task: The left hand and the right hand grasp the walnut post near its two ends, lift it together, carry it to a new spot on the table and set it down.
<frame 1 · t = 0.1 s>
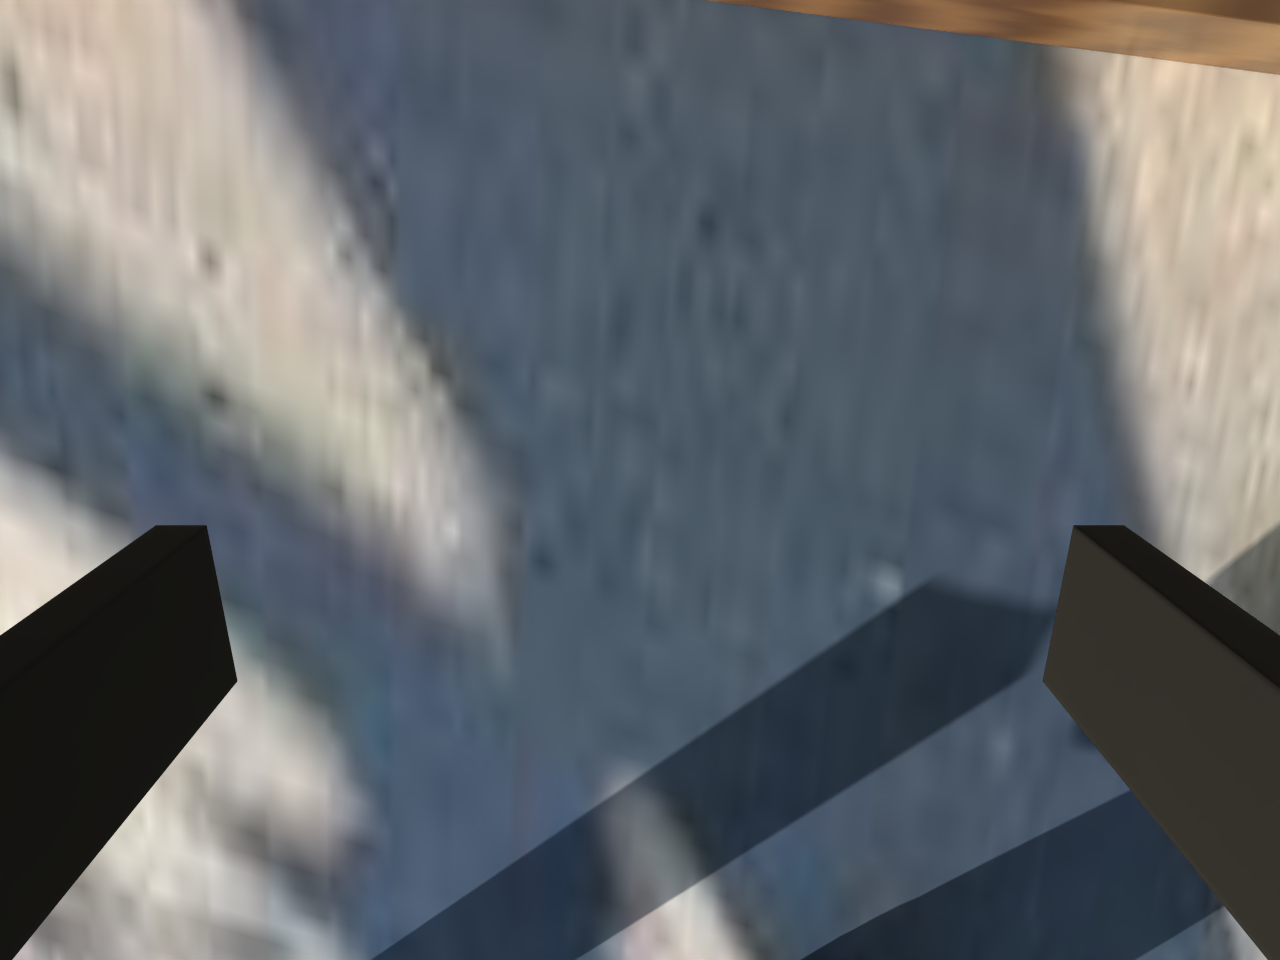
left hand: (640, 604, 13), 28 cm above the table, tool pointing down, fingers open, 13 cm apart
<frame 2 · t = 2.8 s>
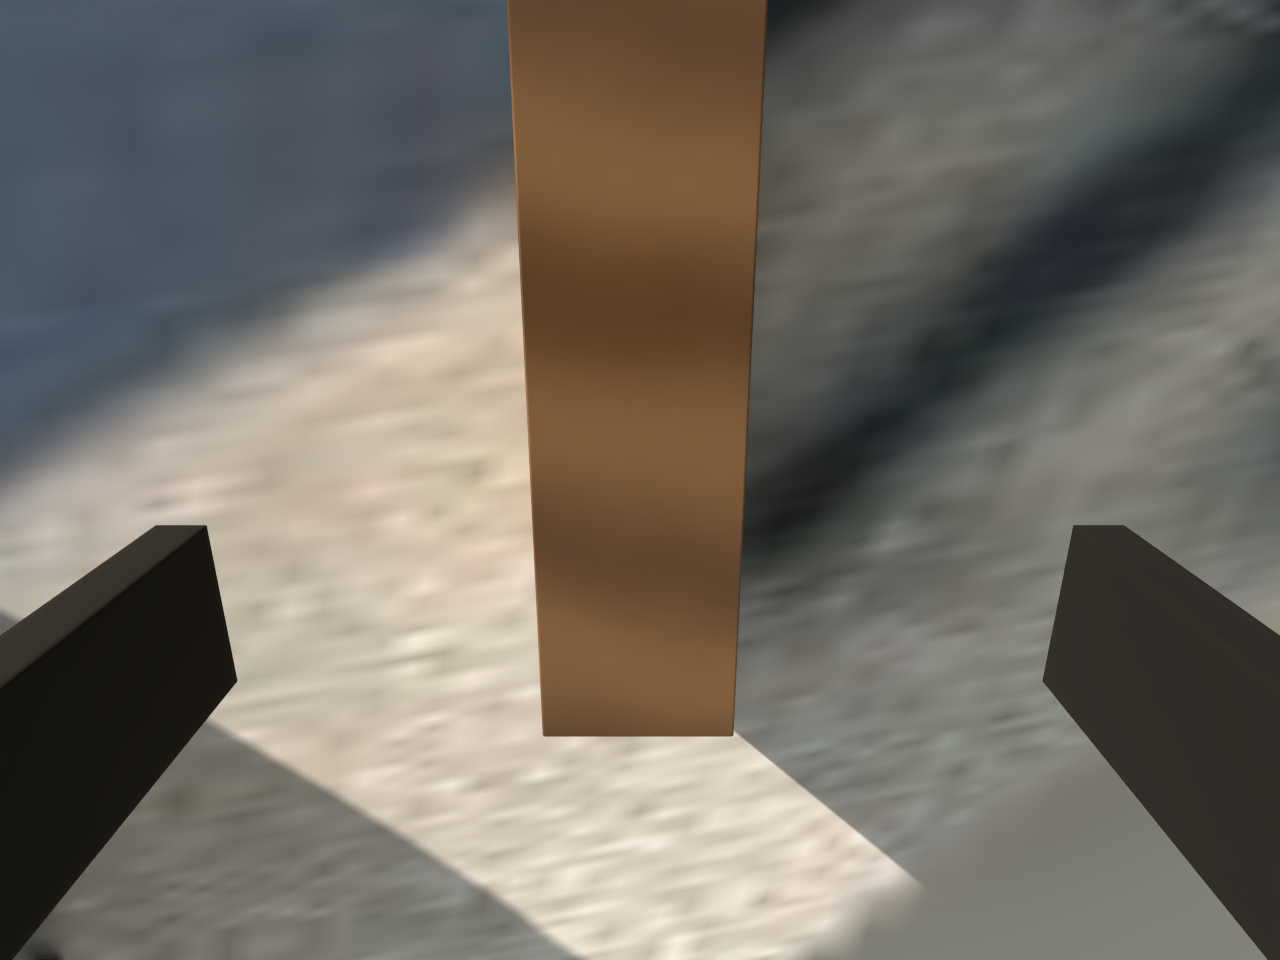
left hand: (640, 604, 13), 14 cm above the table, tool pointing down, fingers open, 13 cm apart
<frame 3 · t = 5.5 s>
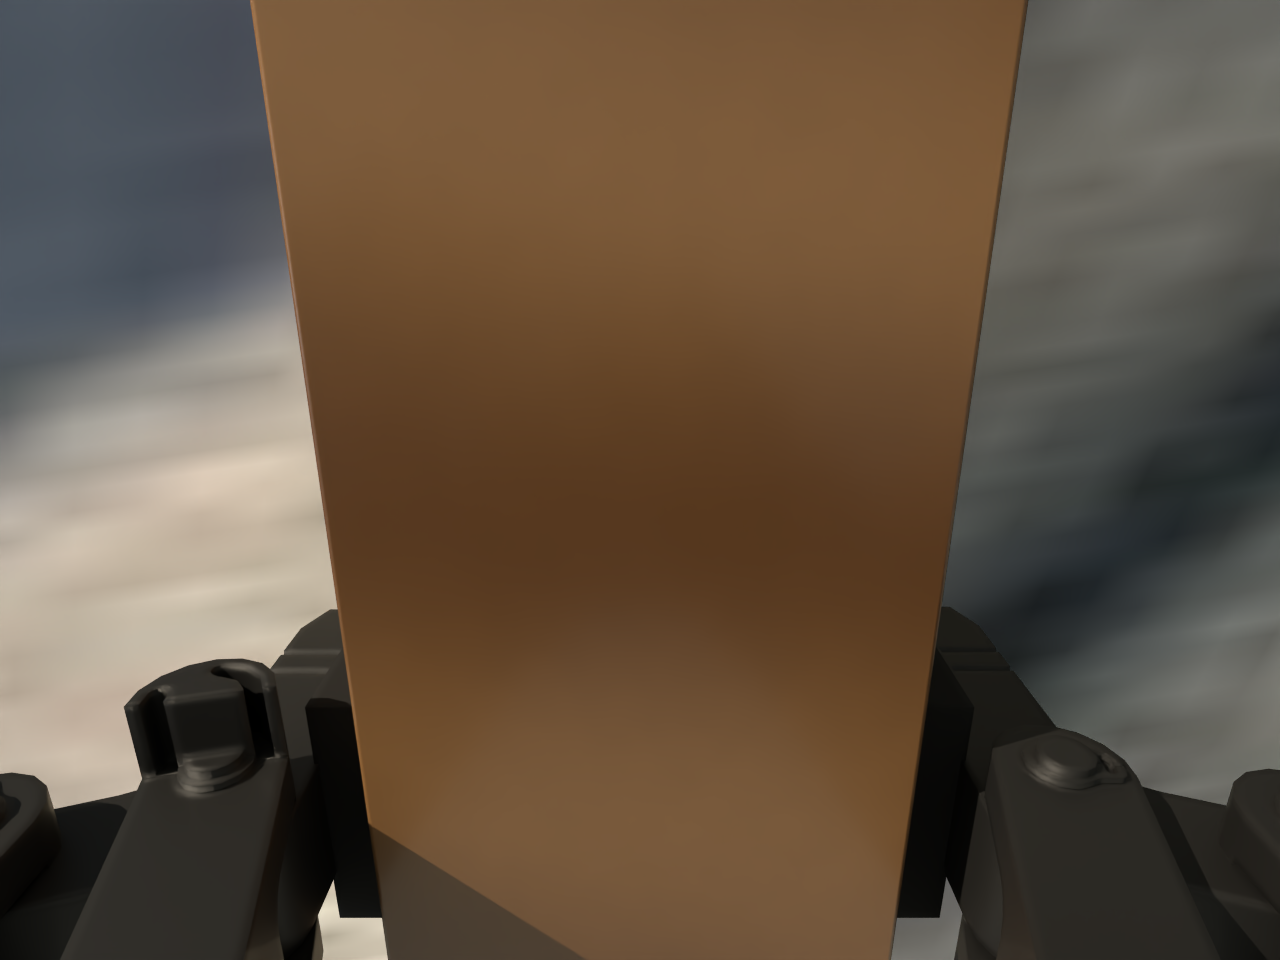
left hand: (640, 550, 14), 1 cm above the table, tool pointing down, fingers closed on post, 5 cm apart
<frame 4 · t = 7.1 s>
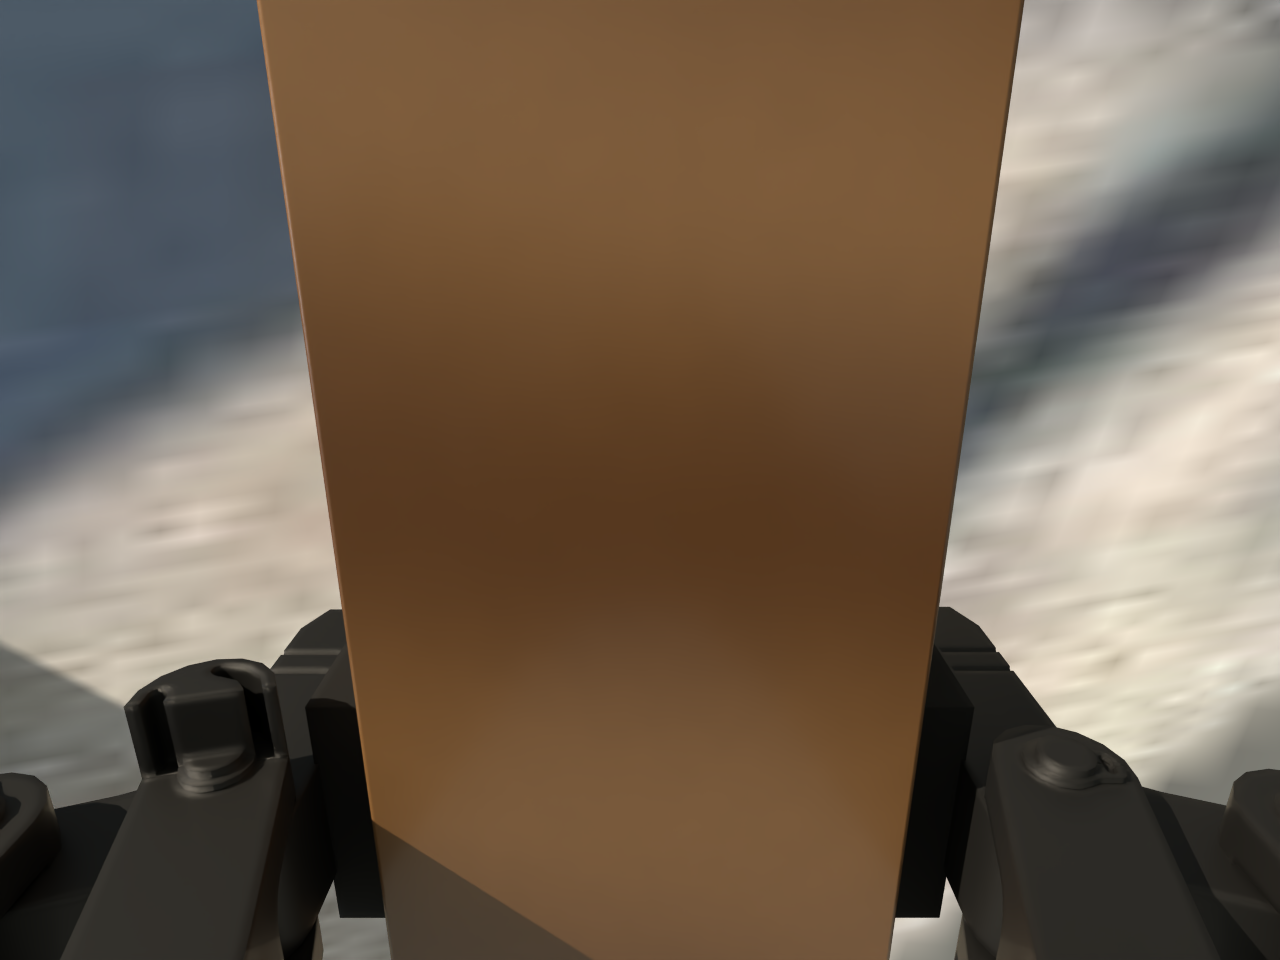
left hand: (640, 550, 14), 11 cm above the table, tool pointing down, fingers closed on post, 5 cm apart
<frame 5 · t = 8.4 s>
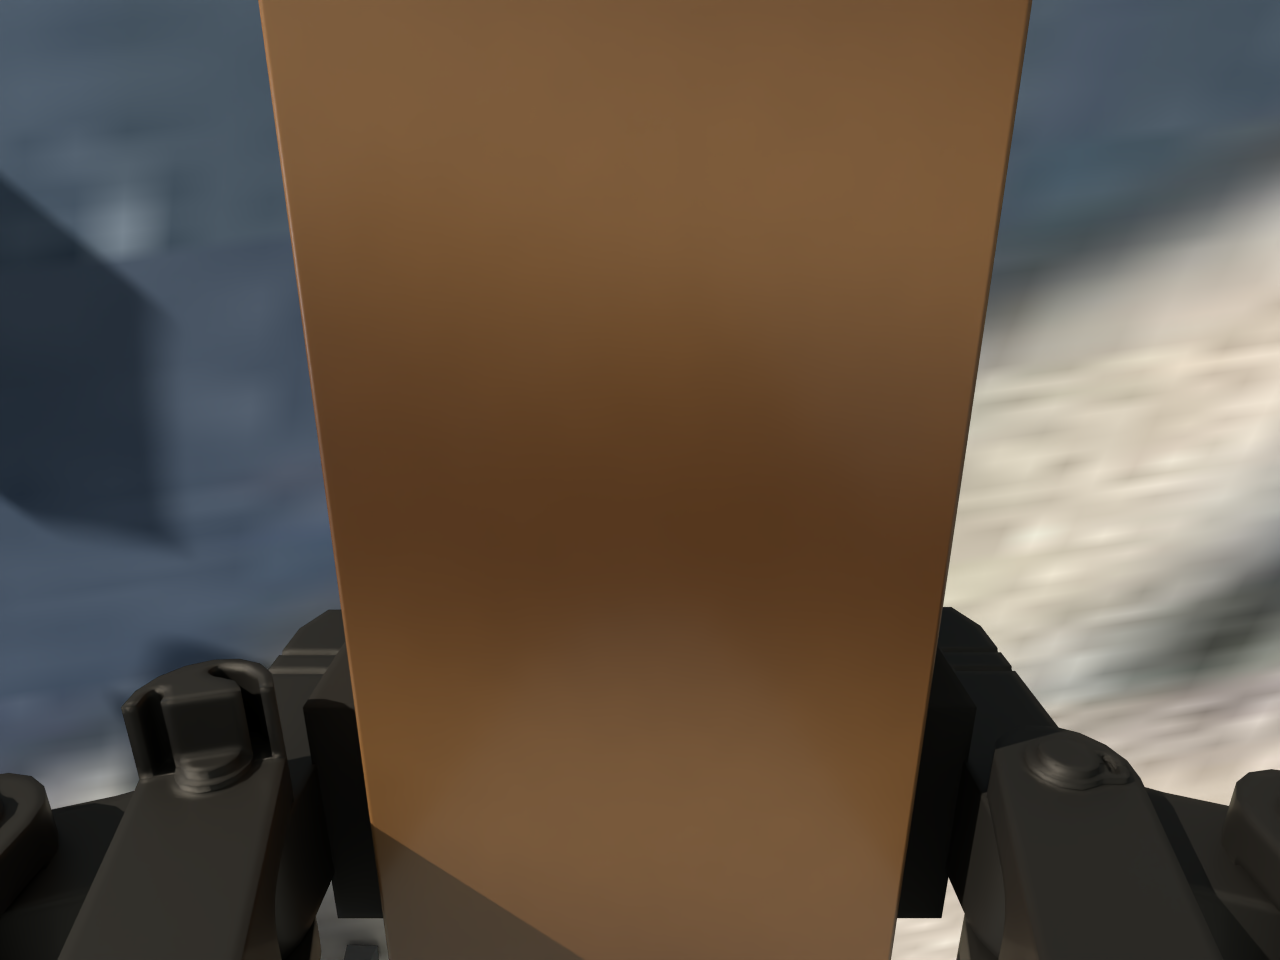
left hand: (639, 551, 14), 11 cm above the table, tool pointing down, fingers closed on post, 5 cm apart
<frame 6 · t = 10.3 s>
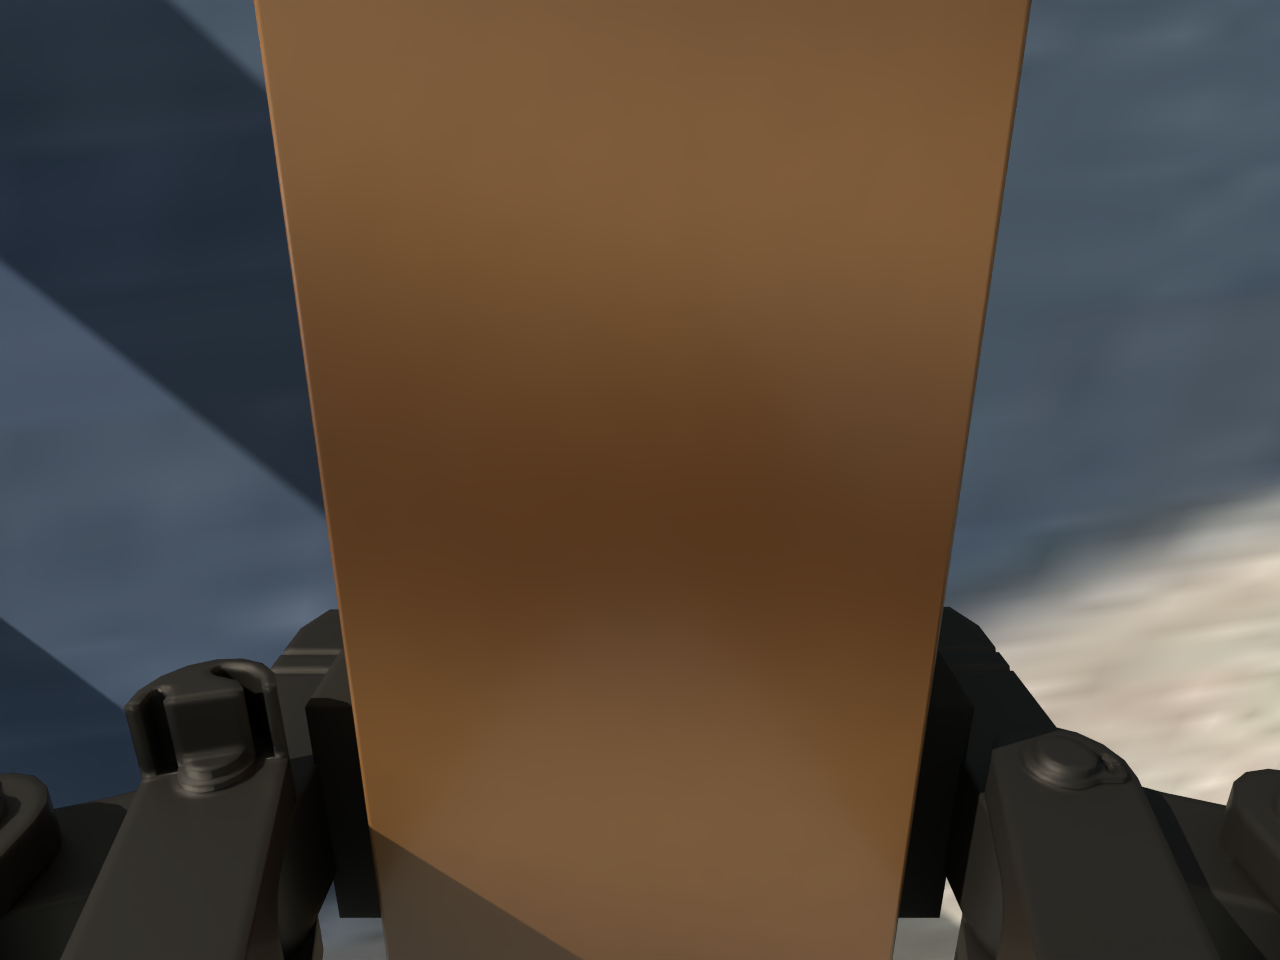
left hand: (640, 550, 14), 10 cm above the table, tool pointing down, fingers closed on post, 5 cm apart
when the left hand's fingers open (2 cm above the table, at t = 11.5 s): post drops 2 cm, on the table.
when the right hand's fingers open (5 cm above the table, at t = 11.7 s): post stays where it is, on the table.
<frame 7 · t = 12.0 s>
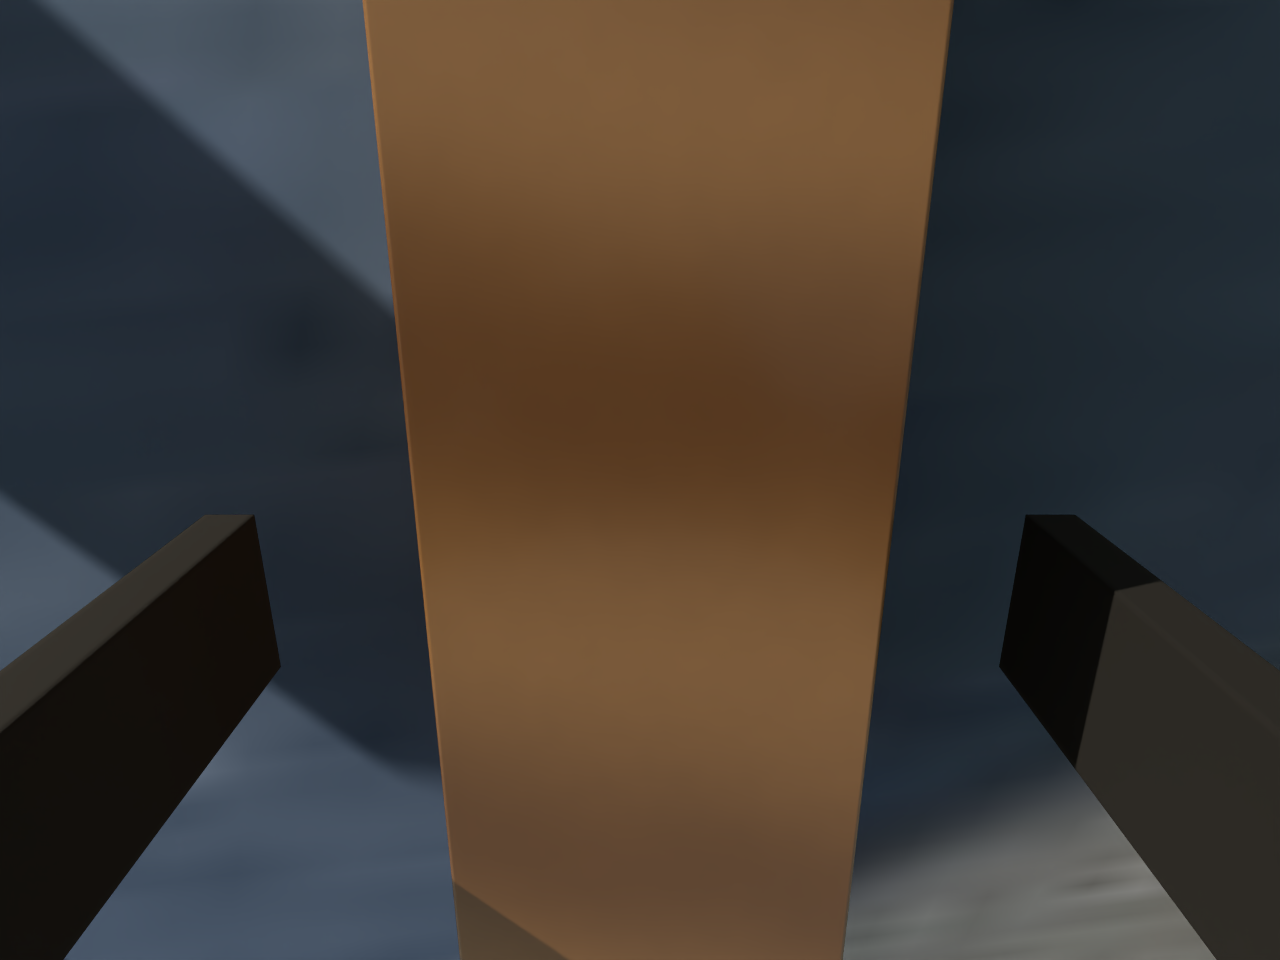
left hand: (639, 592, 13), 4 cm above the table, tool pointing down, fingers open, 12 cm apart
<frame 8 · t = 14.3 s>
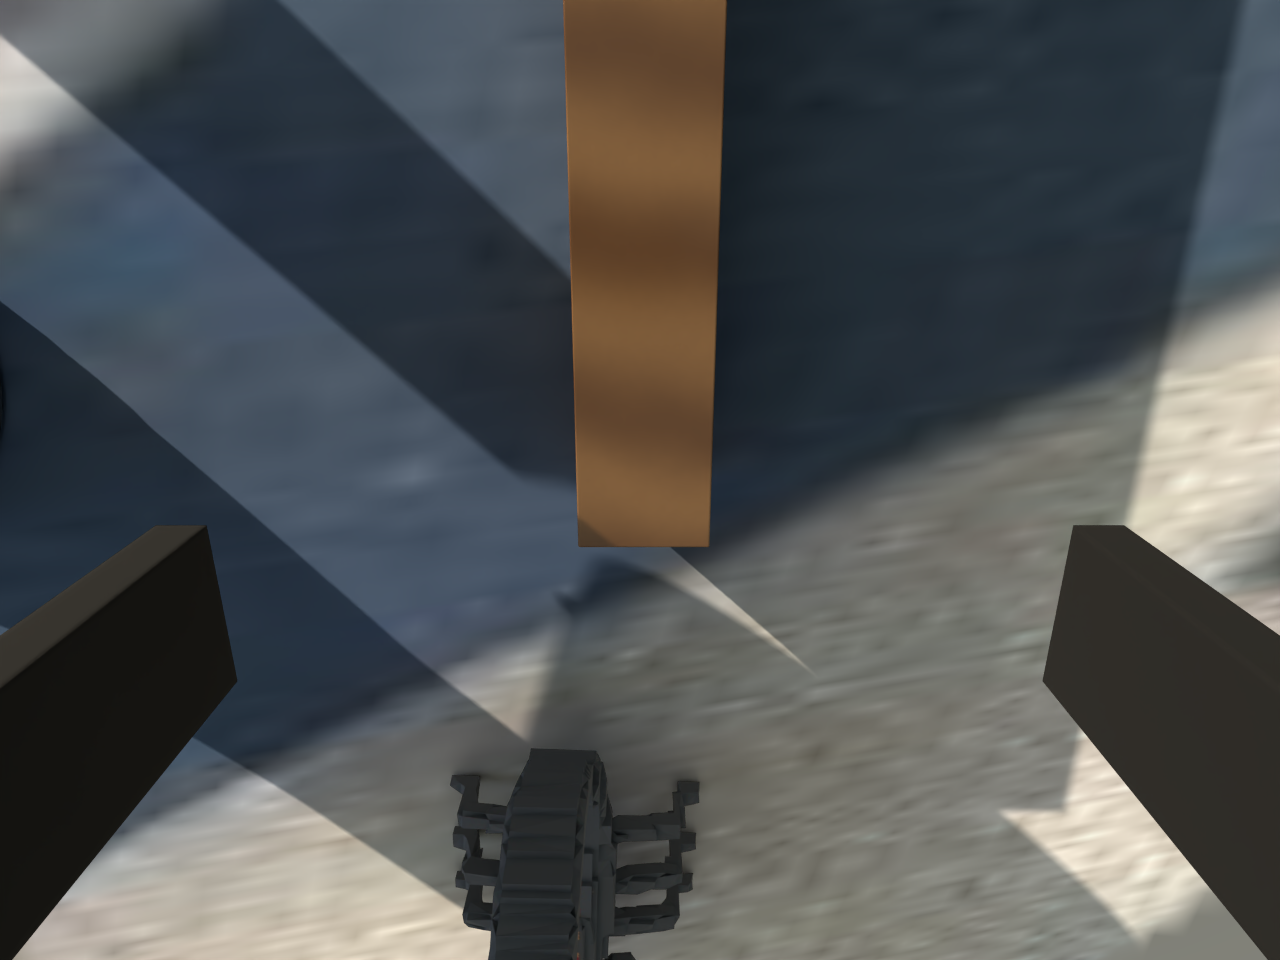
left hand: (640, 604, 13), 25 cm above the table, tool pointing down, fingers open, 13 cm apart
toy: (566, 848, 46), on the table
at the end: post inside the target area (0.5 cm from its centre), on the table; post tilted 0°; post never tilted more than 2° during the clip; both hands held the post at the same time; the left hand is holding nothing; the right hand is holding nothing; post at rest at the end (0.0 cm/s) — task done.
